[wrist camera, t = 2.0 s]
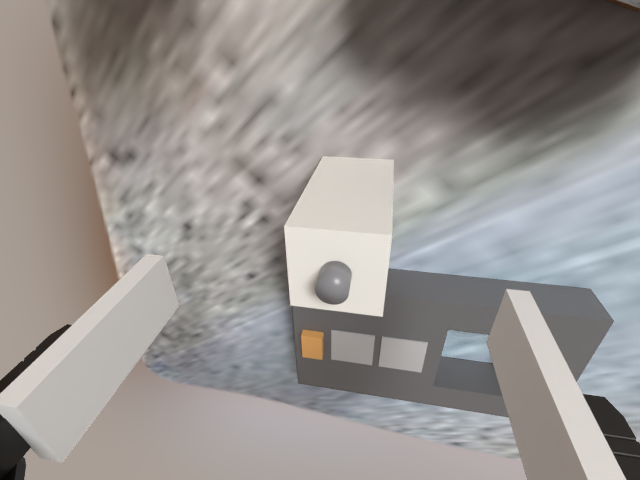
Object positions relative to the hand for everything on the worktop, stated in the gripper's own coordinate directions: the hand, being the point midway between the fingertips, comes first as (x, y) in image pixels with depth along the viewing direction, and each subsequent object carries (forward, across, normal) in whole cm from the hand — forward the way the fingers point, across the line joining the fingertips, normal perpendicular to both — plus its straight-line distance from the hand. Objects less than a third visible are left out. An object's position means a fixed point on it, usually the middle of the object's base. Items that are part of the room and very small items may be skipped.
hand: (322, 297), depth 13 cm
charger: (+11, 0, 0) cm, 11 cm away
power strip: (+11, -6, +12) cm, 17 cm away
